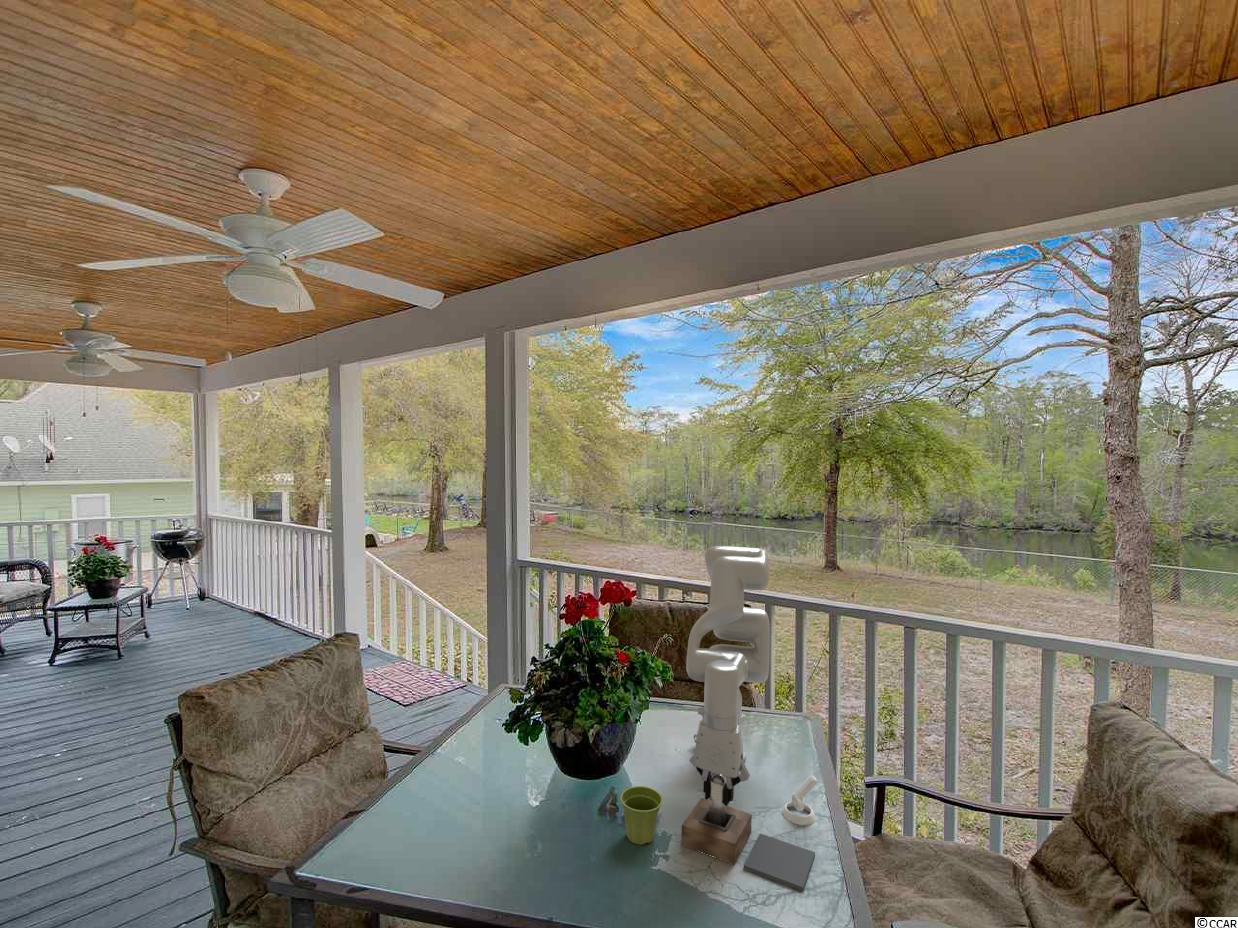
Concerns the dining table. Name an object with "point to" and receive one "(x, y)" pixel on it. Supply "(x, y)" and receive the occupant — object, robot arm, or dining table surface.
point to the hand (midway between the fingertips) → (718, 798)
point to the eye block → (716, 832)
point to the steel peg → (717, 801)
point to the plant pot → (641, 813)
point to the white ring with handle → (801, 803)
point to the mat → (780, 861)
